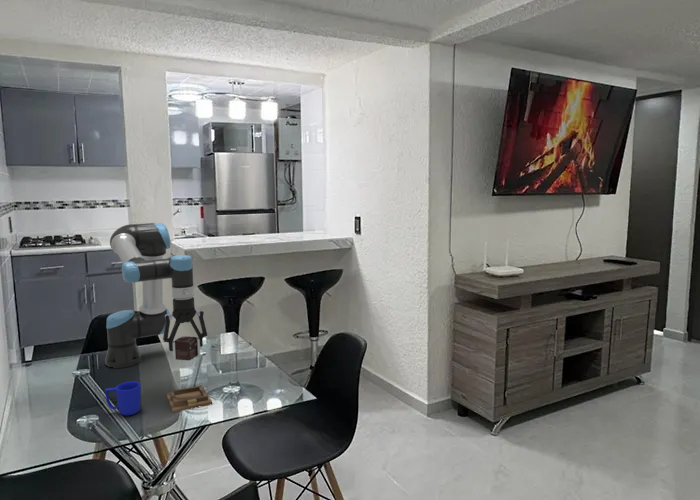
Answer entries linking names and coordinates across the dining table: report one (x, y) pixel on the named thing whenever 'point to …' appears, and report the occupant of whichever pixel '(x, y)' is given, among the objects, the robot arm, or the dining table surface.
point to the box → (185, 348)
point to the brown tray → (188, 398)
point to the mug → (126, 397)
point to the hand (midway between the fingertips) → (186, 357)
